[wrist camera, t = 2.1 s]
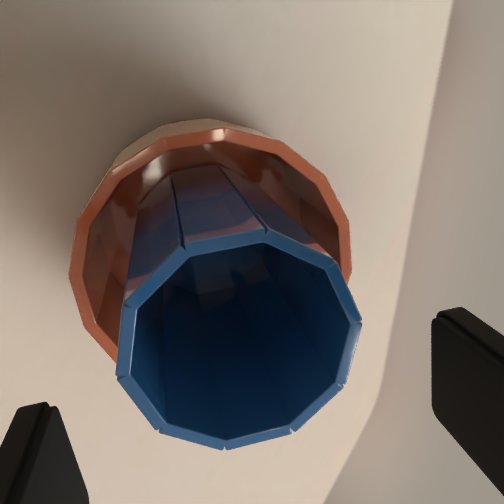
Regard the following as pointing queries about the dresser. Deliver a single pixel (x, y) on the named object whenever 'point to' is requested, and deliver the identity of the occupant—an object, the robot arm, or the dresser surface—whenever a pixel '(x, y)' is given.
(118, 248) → the orange bowl
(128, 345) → the blue cup
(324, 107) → the dresser surface
